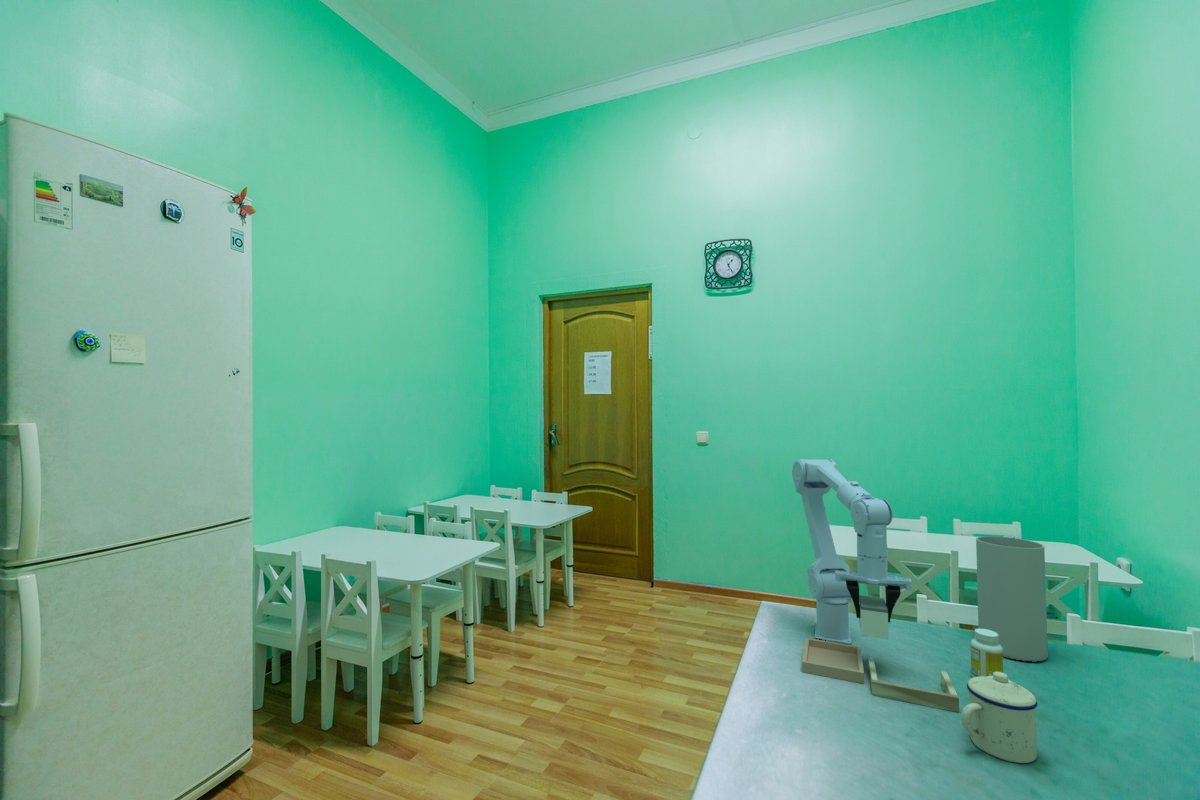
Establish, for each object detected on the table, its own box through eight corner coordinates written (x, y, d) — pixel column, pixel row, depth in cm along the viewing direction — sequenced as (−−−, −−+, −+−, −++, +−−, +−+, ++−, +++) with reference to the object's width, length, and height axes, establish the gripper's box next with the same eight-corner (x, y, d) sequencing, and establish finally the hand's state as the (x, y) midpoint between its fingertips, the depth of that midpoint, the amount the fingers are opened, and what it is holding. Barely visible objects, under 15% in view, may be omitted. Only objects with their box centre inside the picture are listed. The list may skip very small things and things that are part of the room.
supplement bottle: (967, 678, 106) (966, 631, 107) (975, 670, 110) (974, 624, 110) (999, 689, 102) (998, 639, 103) (1007, 680, 106) (1005, 633, 106)
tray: (805, 646, 121) (805, 637, 121) (860, 656, 116) (860, 646, 116) (802, 672, 109) (802, 661, 109) (864, 683, 104) (864, 673, 104)
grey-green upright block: (859, 622, 116) (858, 595, 116) (884, 625, 114) (884, 598, 114) (861, 635, 108) (860, 606, 109) (888, 639, 106) (887, 610, 107)
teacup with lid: (998, 727, 89) (996, 658, 90) (1054, 761, 80) (1052, 684, 81) (940, 735, 87) (938, 665, 87) (991, 771, 78) (989, 692, 78)
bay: (868, 670, 110) (868, 658, 110) (946, 684, 104) (946, 671, 104) (872, 695, 100) (872, 681, 100) (959, 712, 94) (958, 698, 94)
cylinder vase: (1051, 668, 111) (1047, 551, 112) (979, 653, 118) (976, 543, 119) (1044, 648, 121) (1040, 540, 122) (978, 635, 128) (975, 534, 129)
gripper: (835, 555, 111) (836, 619, 110) (913, 563, 105) (914, 631, 105) (834, 548, 118) (835, 608, 117) (908, 555, 112) (909, 619, 111)
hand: (872, 618), depth 111 cm, fingers closed on grey-green upright block, 5 cm apart
